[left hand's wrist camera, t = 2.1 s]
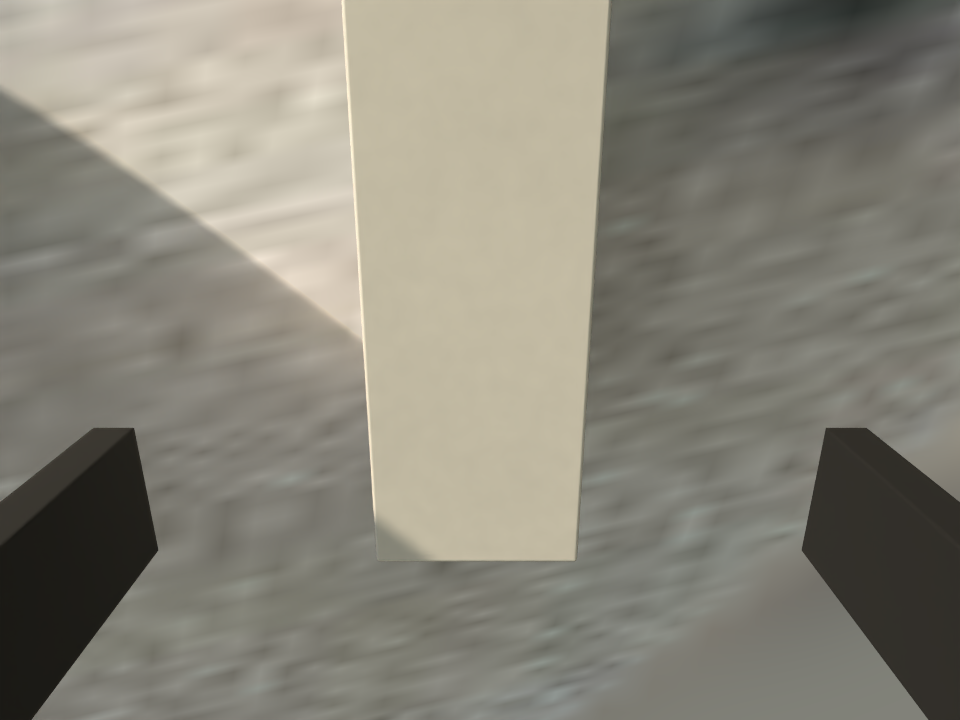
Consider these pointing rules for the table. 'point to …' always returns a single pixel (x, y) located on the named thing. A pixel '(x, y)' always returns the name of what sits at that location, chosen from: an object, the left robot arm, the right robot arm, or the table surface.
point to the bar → (476, 266)
